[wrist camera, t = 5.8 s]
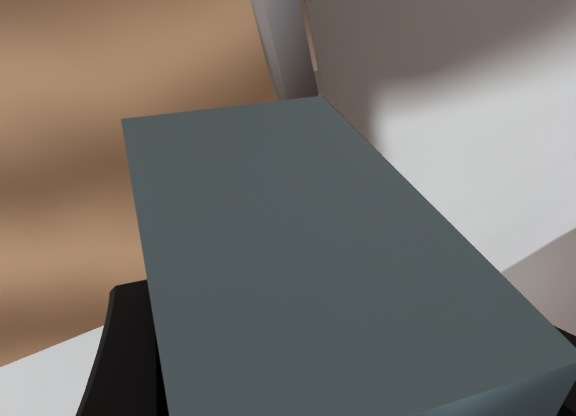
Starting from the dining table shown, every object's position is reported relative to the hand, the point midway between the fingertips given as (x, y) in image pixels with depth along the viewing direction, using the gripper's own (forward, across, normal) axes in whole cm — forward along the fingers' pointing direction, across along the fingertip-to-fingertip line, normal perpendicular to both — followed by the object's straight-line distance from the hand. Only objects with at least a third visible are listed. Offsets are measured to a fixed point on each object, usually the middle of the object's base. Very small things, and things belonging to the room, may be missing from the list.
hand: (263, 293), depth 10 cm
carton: (+2, 0, 0) cm, 2 cm away
